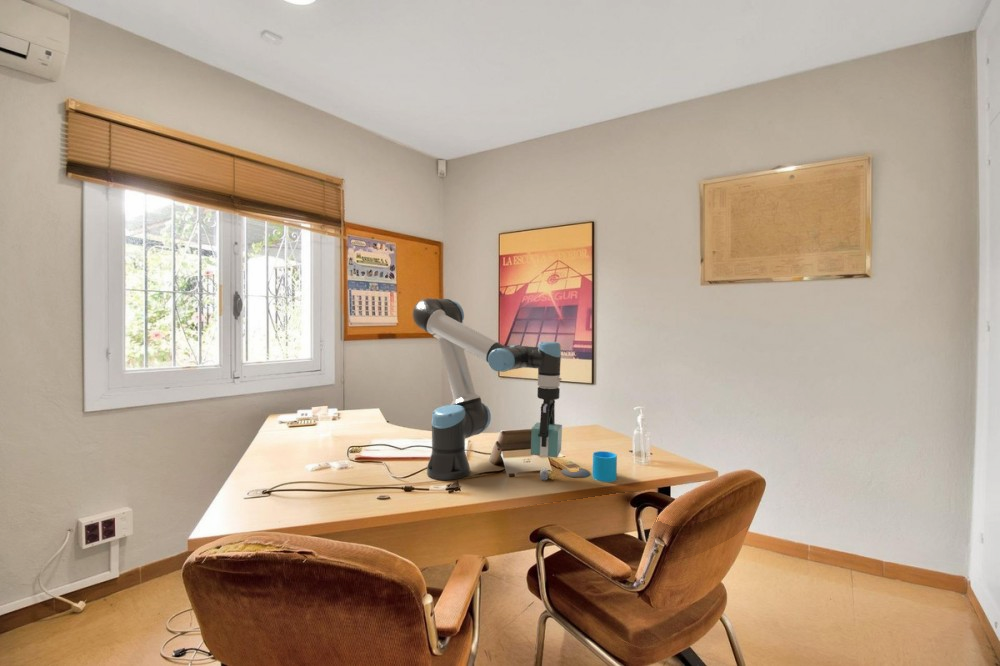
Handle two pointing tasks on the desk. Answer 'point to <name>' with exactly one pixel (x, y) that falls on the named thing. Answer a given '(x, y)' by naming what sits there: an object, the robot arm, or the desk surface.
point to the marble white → (544, 470)
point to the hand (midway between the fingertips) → (546, 451)
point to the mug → (604, 466)
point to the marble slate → (544, 475)
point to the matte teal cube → (554, 440)
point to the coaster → (576, 473)
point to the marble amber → (552, 475)
